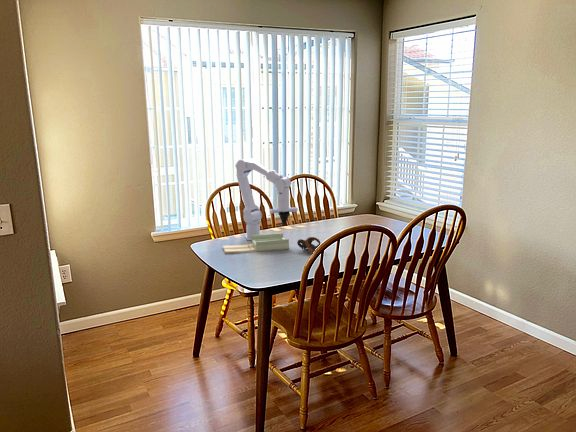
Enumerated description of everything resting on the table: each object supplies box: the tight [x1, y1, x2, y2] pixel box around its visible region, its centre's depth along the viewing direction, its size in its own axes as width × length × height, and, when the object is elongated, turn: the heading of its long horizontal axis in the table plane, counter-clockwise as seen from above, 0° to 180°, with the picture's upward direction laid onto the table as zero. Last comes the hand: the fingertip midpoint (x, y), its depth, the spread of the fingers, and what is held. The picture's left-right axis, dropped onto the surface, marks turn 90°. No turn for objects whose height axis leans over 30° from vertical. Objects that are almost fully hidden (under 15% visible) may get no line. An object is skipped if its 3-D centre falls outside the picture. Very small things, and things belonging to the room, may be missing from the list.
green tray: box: [251, 232, 290, 253], centre depth 254 cm, size 13×17×5 cm
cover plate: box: [222, 243, 257, 255], centre depth 251 cm, size 11×15×2 cm
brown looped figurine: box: [297, 236, 321, 255], centre depth 246 cm, size 12×10×8 cm
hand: (284, 225), depth 258 cm, fingers closed
